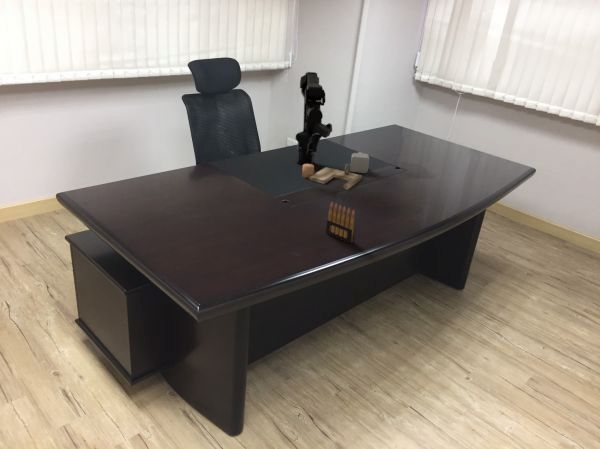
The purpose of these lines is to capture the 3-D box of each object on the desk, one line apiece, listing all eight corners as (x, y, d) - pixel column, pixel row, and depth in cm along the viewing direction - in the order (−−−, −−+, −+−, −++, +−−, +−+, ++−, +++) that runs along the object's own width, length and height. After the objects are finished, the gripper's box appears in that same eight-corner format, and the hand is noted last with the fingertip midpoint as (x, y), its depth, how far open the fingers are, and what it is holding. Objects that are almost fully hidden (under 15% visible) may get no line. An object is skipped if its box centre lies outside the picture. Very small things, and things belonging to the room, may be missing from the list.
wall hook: (367, 164, 238) (369, 146, 232) (367, 176, 230) (369, 158, 224) (350, 163, 239) (352, 144, 233) (349, 175, 231) (351, 156, 225)
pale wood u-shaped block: (309, 180, 216) (310, 167, 214) (325, 170, 229) (326, 157, 227) (347, 189, 209) (348, 176, 206) (361, 178, 222) (363, 166, 219)
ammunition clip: (325, 233, 172) (328, 201, 166) (328, 231, 173) (331, 199, 168) (350, 243, 166) (354, 211, 160) (353, 242, 167) (357, 209, 162)
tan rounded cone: (300, 176, 220) (300, 166, 218) (305, 173, 224) (306, 163, 222) (310, 179, 218) (310, 168, 216) (315, 176, 222) (316, 165, 220)
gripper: (320, 124, 198) (317, 161, 205) (339, 115, 214) (335, 150, 220) (295, 119, 203) (293, 156, 210) (315, 111, 218) (313, 146, 225)
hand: (310, 152), depth 216 cm, fingers open, 9 cm apart
